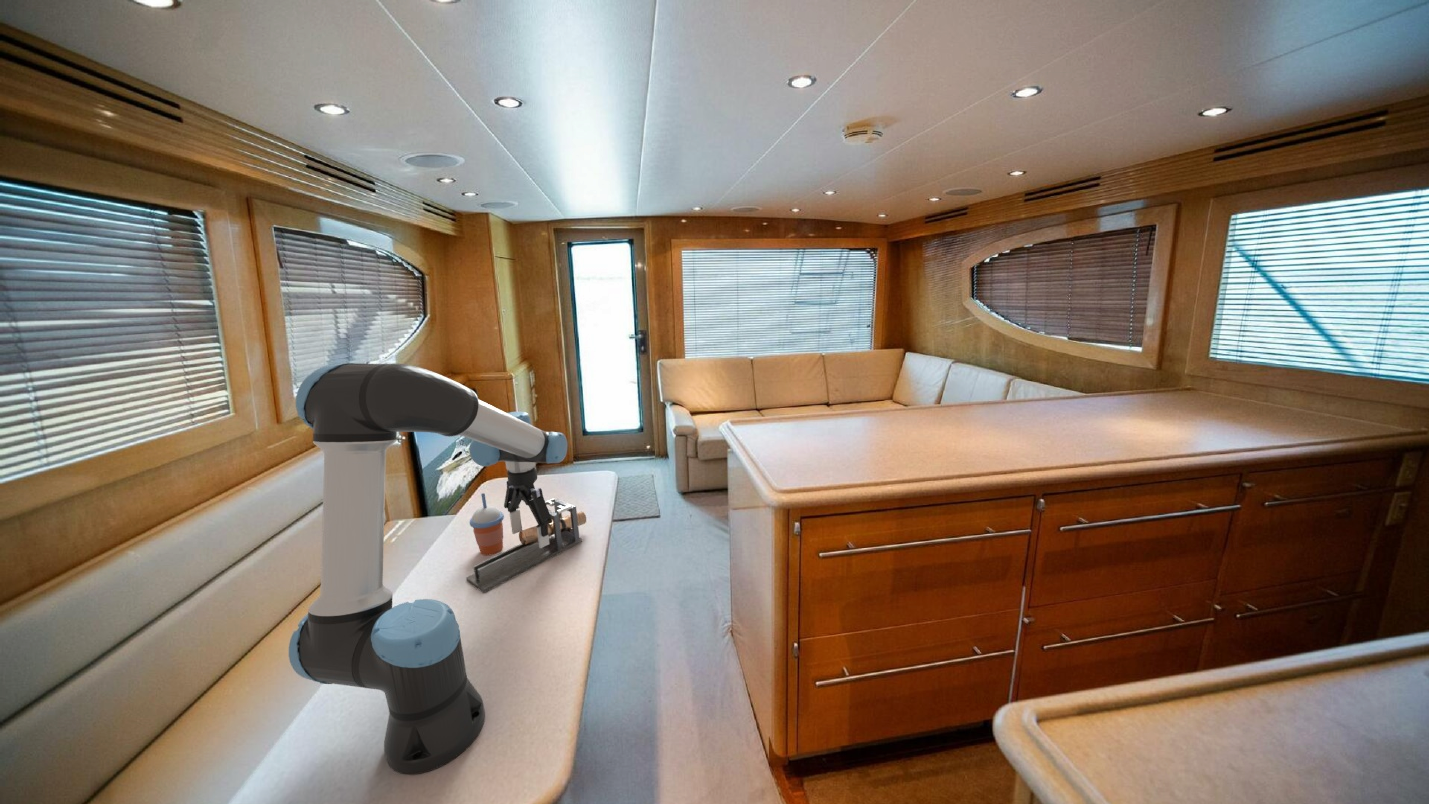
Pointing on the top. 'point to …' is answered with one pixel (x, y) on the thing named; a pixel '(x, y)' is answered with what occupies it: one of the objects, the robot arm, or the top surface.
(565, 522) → the tan wooden rod
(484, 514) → the cup with straw
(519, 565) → the collar rail
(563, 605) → the top surface
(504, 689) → the top surface
